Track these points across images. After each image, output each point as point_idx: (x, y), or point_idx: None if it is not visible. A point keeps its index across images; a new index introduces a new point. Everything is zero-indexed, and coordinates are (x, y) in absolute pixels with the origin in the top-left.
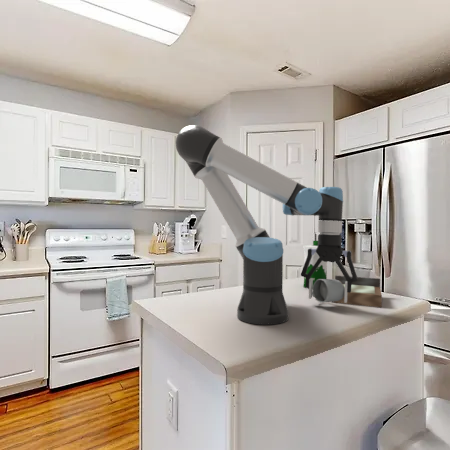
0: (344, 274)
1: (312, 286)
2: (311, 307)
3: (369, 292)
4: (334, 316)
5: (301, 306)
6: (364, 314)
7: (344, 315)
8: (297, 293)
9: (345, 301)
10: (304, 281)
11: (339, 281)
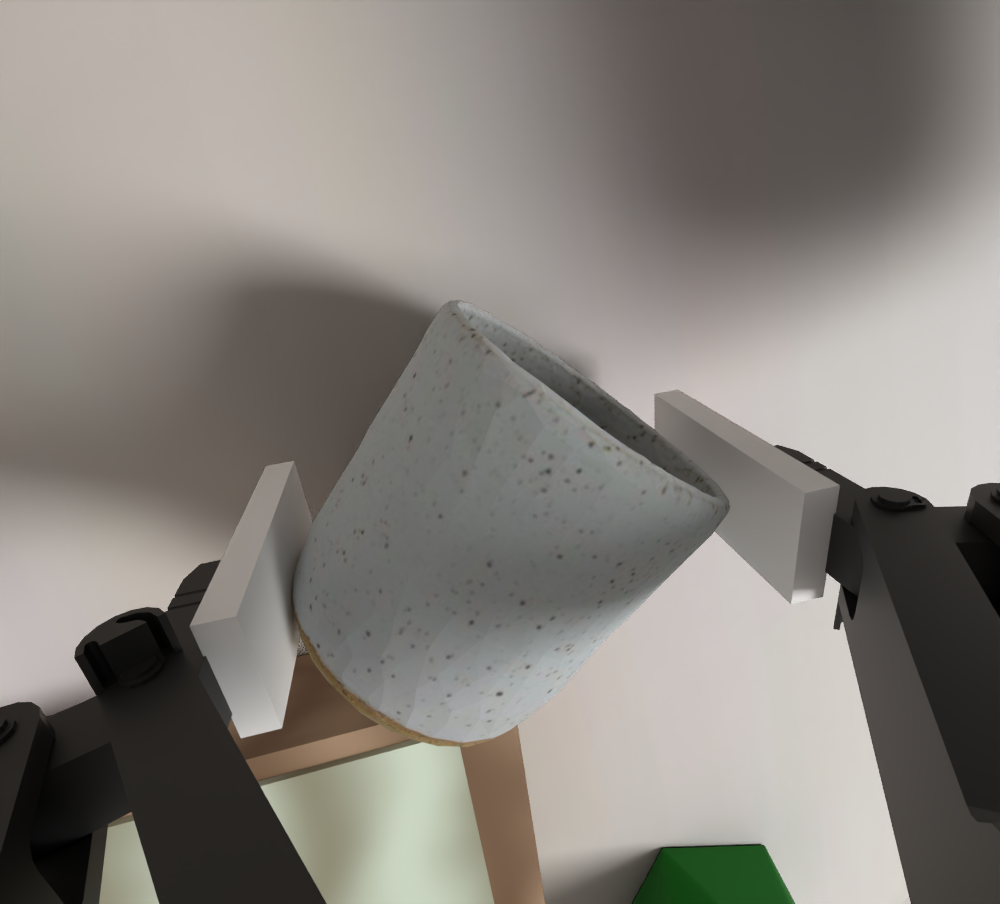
0: (204, 760)
1: (718, 530)
2: (607, 337)
3: (129, 850)
4: (302, 105)
5: (698, 316)
6: (58, 389)
7: (223, 219)
8: (783, 685)
9: (277, 470)
10: (787, 892)
11: (377, 690)
